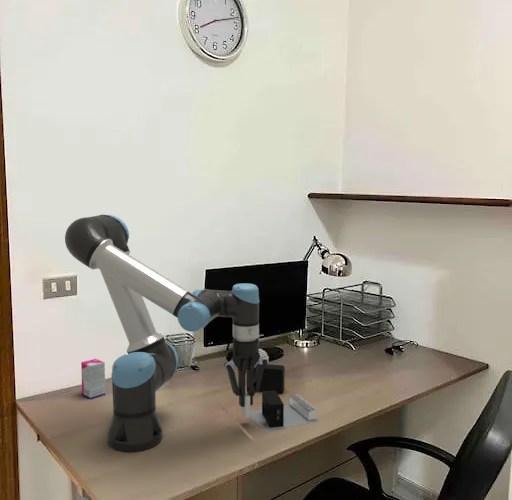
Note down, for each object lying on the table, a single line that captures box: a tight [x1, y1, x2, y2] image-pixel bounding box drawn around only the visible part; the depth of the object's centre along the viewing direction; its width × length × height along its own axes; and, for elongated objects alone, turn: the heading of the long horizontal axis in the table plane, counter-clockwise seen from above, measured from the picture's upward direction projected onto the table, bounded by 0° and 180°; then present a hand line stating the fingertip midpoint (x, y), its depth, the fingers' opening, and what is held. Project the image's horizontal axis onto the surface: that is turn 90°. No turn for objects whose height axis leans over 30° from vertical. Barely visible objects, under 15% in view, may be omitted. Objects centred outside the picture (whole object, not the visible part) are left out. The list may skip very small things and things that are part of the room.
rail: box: [289, 393, 318, 421], centre depth 170 cm, size 3×12×4 cm, turn 25°
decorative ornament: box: [256, 336, 270, 364], centre depth 211 cm, size 8×8×15 cm
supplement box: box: [80, 358, 106, 400], centre depth 186 cm, size 6×6×12 cm
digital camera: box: [261, 390, 285, 427], centre depth 164 cm, size 10×5×7 cm, turn 11°
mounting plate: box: [250, 404, 321, 433], centre depth 167 cm, size 18×14×2 cm
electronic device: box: [254, 363, 286, 395], centre depth 187 cm, size 4×10×10 cm, turn 78°
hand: (246, 416), depth 161 cm, fingers closed
